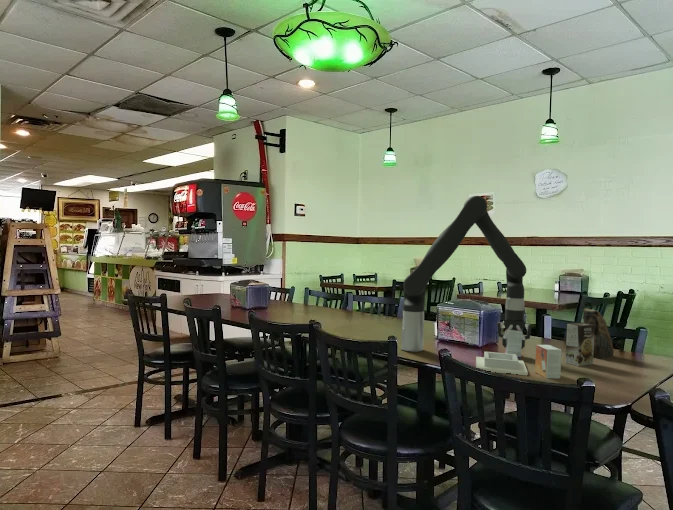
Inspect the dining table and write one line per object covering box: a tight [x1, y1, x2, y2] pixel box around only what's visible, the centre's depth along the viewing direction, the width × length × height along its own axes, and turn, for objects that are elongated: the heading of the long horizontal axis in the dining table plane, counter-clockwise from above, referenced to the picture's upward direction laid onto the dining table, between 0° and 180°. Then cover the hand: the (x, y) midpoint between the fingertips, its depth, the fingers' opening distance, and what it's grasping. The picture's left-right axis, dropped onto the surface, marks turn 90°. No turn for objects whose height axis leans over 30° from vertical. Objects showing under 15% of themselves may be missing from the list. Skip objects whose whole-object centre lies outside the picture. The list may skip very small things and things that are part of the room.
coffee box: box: [565, 322, 595, 367], centre depth 195 cm, size 9×6×16 cm
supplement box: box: [504, 330, 523, 359], centre depth 205 cm, size 6×6×12 cm
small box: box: [534, 344, 563, 379], centre depth 176 cm, size 8×6×10 cm
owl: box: [582, 307, 614, 360], centre depth 211 cm, size 13×13×20 cm
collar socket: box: [475, 351, 529, 376], centre depth 186 cm, size 18×18×4 cm
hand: (513, 347), depth 205 cm, fingers open, 6 cm apart
